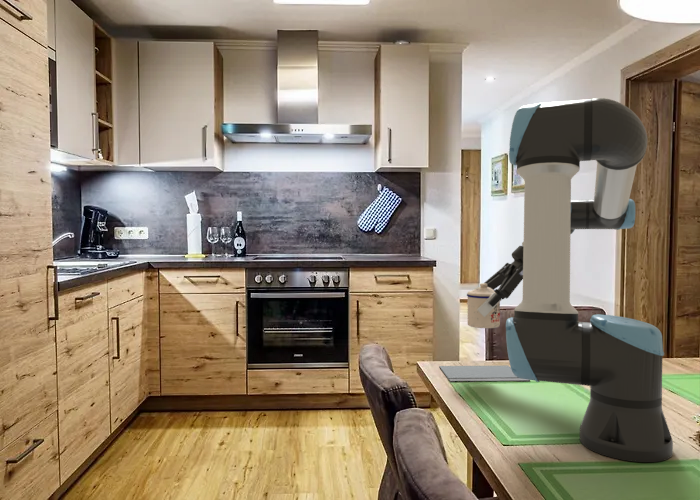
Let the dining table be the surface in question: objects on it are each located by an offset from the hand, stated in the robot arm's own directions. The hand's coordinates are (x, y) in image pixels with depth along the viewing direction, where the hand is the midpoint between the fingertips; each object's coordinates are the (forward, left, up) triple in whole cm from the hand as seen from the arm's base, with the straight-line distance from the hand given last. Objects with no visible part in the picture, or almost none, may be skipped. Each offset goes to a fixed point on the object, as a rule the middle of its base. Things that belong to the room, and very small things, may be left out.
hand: (475, 310), depth 150 cm
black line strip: (-8, -2, -18) cm, 19 cm away
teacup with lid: (0, -3, -4) cm, 5 cm away
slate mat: (0, -1, -18) cm, 18 cm away
